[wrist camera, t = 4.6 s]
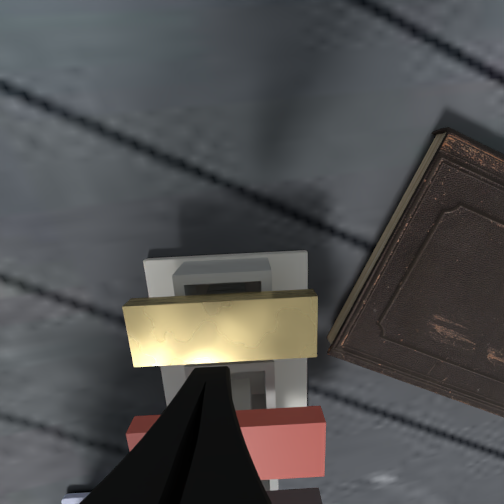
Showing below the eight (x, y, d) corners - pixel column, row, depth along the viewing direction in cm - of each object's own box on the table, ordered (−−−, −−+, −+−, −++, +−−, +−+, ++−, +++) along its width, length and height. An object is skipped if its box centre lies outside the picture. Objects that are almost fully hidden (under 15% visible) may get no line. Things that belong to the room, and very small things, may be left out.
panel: (304, 451, 22) (315, 497, 19) (178, 458, 22) (166, 506, 18) (305, 249, 17) (319, 264, 14) (146, 258, 17) (123, 274, 14)
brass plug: (301, 319, 18) (316, 357, 14) (158, 327, 18) (133, 367, 14) (301, 271, 17) (317, 296, 13) (151, 279, 17) (122, 306, 13)
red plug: (307, 412, 17) (324, 476, 13) (162, 419, 17) (137, 487, 13) (307, 367, 16) (325, 422, 13) (154, 375, 16) (125, 433, 12)
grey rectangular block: (306, 476, 19) (322, 551, 15) (173, 484, 19) (153, 561, 15) (306, 439, 18) (323, 508, 14) (166, 447, 18) (144, 518, 14)
